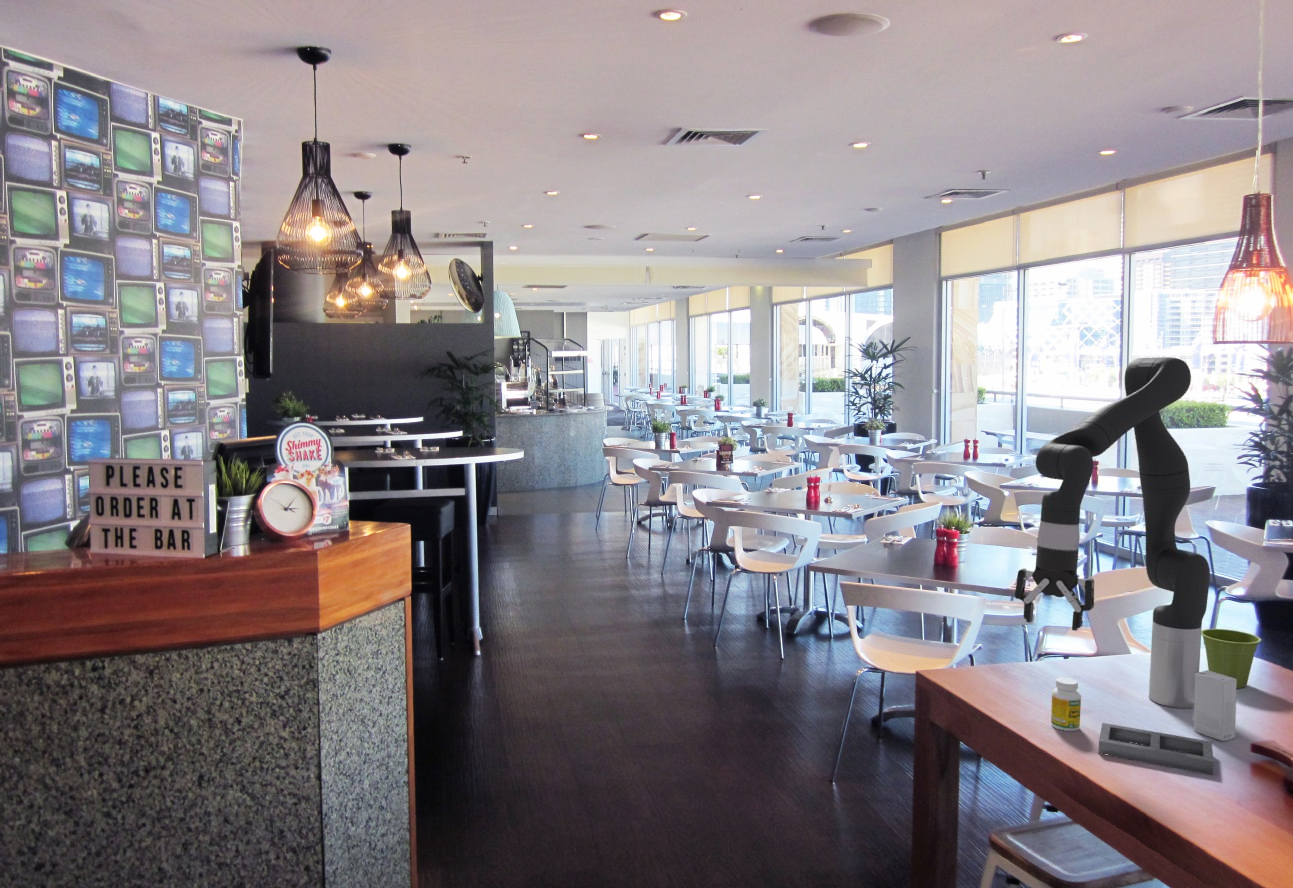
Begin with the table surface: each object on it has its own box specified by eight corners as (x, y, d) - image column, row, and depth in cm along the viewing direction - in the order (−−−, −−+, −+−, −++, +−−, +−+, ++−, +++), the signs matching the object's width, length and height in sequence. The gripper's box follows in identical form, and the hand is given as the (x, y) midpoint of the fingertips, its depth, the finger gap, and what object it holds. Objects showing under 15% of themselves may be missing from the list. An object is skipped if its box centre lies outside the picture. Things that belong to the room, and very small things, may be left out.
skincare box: (1236, 738, 183) (1239, 678, 182) (1221, 742, 181) (1225, 681, 180) (1205, 727, 188) (1208, 668, 187) (1191, 731, 186) (1194, 672, 185)
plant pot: (1262, 682, 215) (1265, 634, 214) (1253, 696, 206) (1256, 646, 205) (1203, 670, 222) (1205, 624, 221) (1192, 684, 213) (1195, 636, 212)
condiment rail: (1101, 734, 184) (1102, 722, 184) (1210, 754, 175) (1211, 741, 175) (1098, 753, 176) (1098, 740, 176) (1212, 774, 167) (1213, 761, 167)
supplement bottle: (1060, 719, 192) (1062, 674, 191) (1085, 728, 188) (1087, 681, 187) (1045, 725, 189) (1047, 679, 188) (1069, 734, 185) (1071, 687, 184)
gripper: (1101, 547, 183) (1094, 629, 184) (1025, 538, 191) (1019, 615, 192) (1093, 552, 177) (1086, 636, 178) (1015, 542, 185) (1009, 622, 186)
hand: (1051, 625), depth 185 cm, fingers open, 8 cm apart
